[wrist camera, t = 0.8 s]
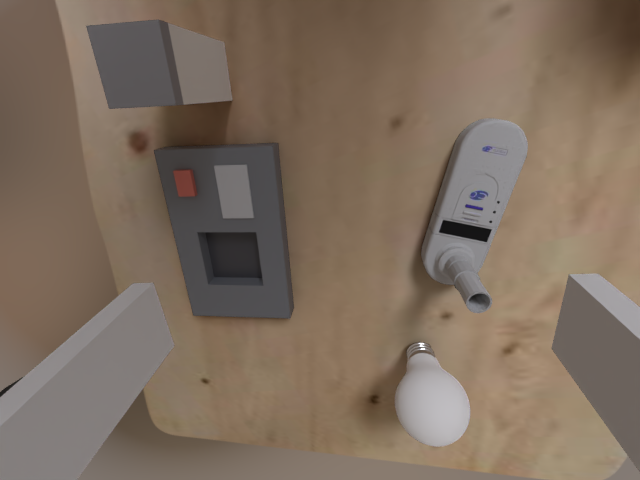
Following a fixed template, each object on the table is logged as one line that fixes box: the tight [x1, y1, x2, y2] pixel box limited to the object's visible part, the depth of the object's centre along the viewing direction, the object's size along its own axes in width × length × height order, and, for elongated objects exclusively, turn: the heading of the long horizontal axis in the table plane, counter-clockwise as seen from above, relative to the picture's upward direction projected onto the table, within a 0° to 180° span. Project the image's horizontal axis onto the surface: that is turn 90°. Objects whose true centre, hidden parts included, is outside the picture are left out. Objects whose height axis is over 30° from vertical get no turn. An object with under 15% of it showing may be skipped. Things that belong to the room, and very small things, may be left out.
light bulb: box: [395, 342, 470, 446], centre depth 33 cm, size 7×7×11 cm
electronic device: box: [421, 118, 528, 313], centre depth 27 cm, size 5×10×15 cm
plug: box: [86, 20, 233, 109], centre depth 25 cm, size 4×4×10 cm
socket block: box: [154, 143, 294, 318], centre depth 34 cm, size 18×11×2 cm, turn 3°
